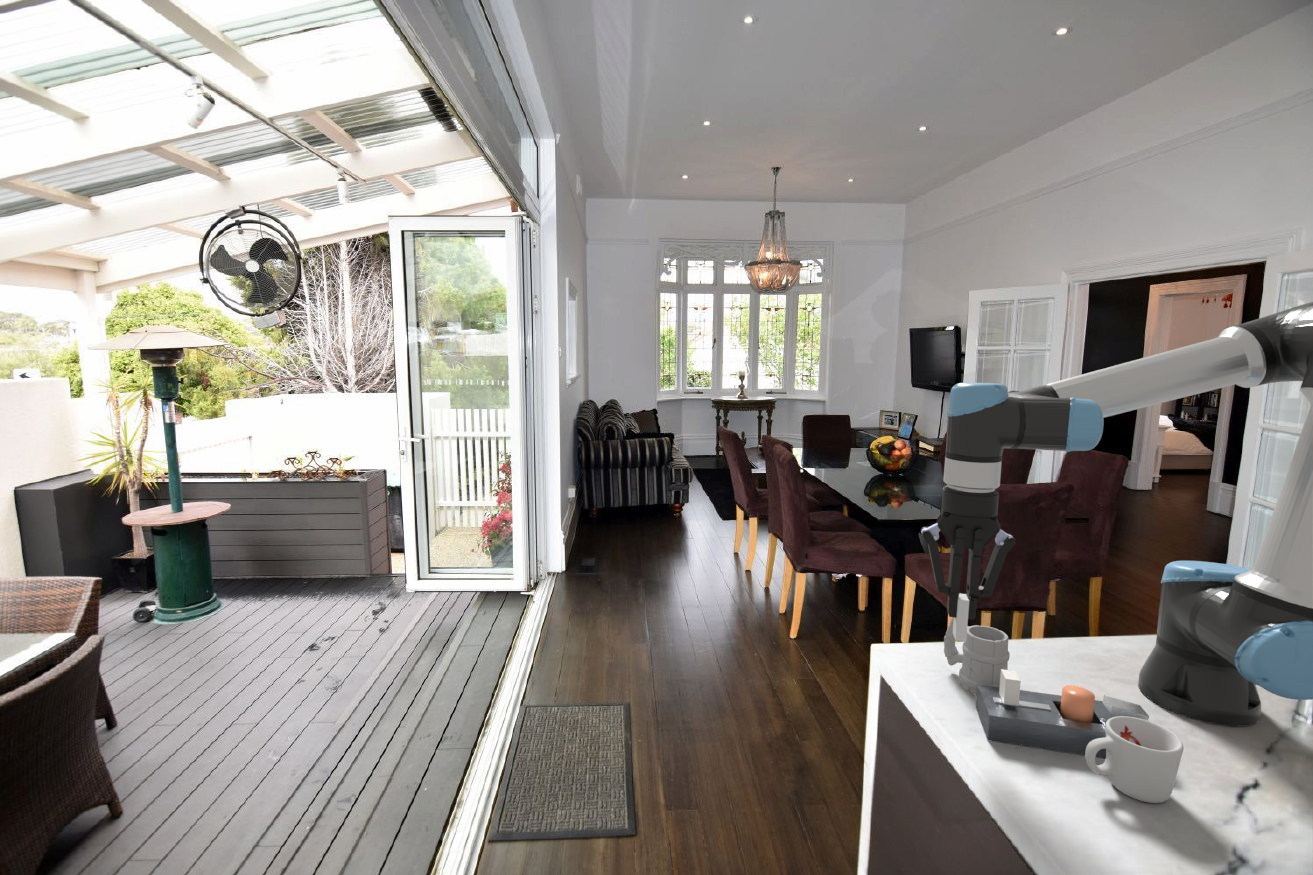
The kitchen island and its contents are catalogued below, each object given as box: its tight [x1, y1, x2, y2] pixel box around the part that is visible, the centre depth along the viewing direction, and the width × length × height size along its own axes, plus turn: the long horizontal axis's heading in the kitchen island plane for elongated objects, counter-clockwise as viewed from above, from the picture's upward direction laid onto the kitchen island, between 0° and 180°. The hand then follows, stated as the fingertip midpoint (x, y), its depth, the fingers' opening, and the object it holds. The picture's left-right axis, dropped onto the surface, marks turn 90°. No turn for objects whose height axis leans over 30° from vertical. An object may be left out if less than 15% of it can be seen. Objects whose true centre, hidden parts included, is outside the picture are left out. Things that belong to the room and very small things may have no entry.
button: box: [1060, 684, 1096, 723], centre depth 92 cm, size 4×4×5 cm
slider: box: [999, 669, 1022, 706], centre depth 94 cm, size 2×3×4 cm, turn 163°
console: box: [975, 684, 1119, 760], centre depth 93 cm, size 21×9×5 cm, turn 73°
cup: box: [1084, 716, 1184, 804], centre depth 81 cm, size 11×8×8 cm
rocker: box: [1101, 695, 1150, 721], centre depth 90 cm, size 5×3×1 cm, turn 73°
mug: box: [943, 617, 1010, 697], centre depth 107 cm, size 8×12×12 cm, turn 26°
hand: (959, 637), depth 95 cm, fingers closed
